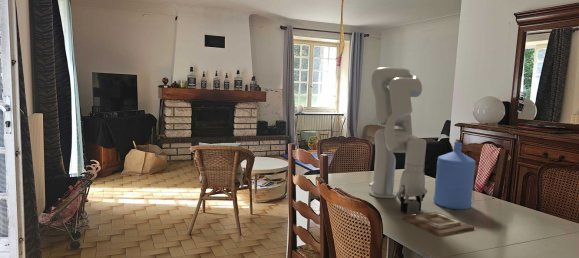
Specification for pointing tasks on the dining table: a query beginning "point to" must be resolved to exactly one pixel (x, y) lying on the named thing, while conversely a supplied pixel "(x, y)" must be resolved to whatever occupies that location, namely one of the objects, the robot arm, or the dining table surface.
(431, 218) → the pocket board
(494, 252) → the dining table surface
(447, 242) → the dining table surface
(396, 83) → the robot arm
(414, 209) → the dice cube
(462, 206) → the water jug
